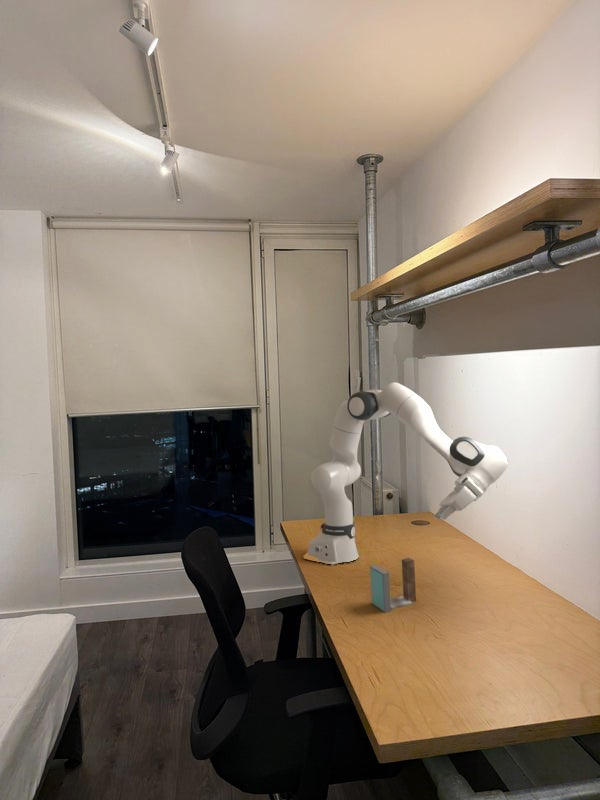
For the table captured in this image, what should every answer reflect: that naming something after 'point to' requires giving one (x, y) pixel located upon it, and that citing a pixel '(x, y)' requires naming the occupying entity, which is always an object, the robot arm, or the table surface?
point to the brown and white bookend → (406, 585)
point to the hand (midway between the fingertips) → (438, 518)
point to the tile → (380, 588)
